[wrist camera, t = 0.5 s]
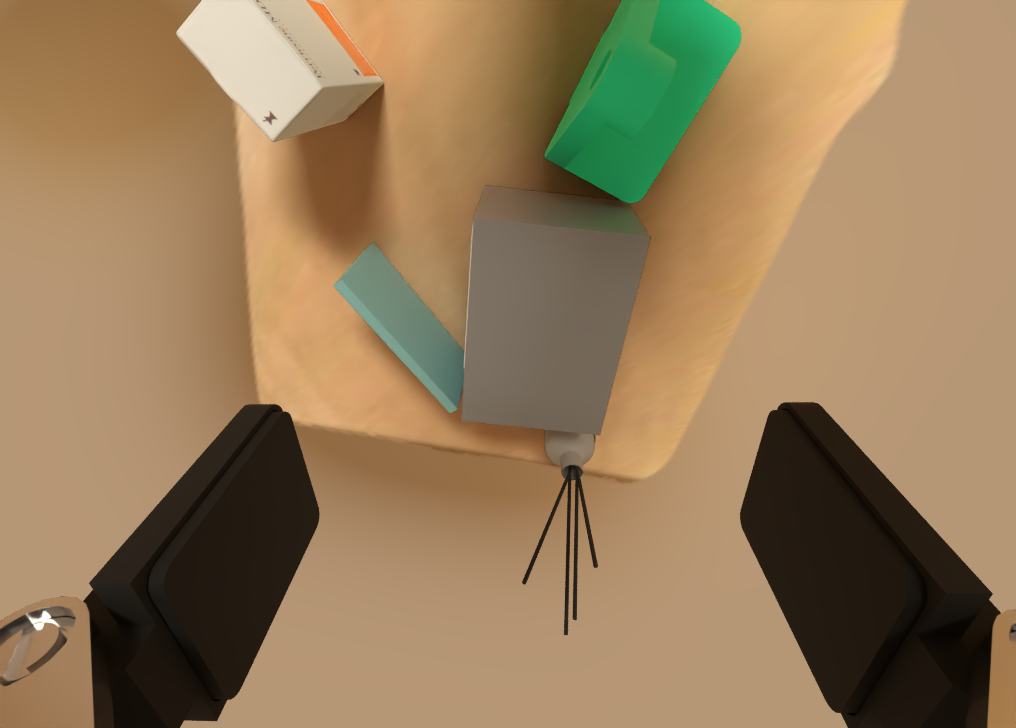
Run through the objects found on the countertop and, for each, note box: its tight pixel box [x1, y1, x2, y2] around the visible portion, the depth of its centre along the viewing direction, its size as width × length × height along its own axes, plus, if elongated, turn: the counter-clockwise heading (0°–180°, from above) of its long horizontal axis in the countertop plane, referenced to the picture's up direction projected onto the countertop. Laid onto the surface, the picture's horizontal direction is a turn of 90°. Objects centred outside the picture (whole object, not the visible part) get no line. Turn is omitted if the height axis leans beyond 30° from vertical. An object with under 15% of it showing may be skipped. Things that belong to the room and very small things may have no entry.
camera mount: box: [544, 0, 741, 203], centre depth 30 cm, size 12×8×10 cm, turn 154°
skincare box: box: [176, 0, 384, 142], centre depth 29 cm, size 6×4×12 cm
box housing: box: [461, 185, 651, 435], centre depth 38 cm, size 16×11×9 cm
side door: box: [333, 242, 464, 413], centre depth 39 cm, size 13×1×8 cm, turn 34°
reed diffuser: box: [522, 430, 598, 635], centre depth 41 cm, size 10×7×20 cm
